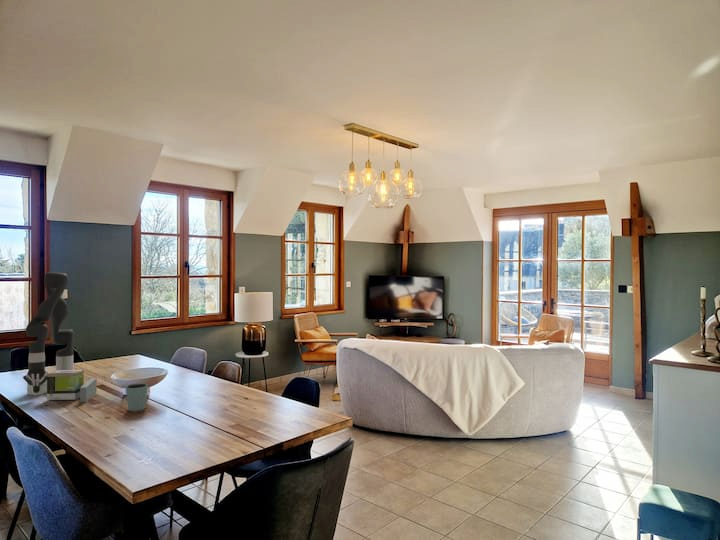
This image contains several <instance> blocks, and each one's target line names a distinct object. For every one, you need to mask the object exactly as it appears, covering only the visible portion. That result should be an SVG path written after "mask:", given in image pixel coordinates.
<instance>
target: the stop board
mask: <svg viewBox="0 0 720 540" xmlns="http://www.w3.org/2000/svg"><path fill="white" fill-rule="evenodd" d="M97 379H98V378H96V377H95V378H93V377H91V378H89V380H87V381H86V382H85V383H84V385H83V386H81V387H80V398H79V403H80V402H82V403H88V402H89V400H90V399H91V398H92V397H93V396H94V395H95V394H96V393H97V391H98V390H97V387H98V385H97V381H98V380H97Z"/></svg>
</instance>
